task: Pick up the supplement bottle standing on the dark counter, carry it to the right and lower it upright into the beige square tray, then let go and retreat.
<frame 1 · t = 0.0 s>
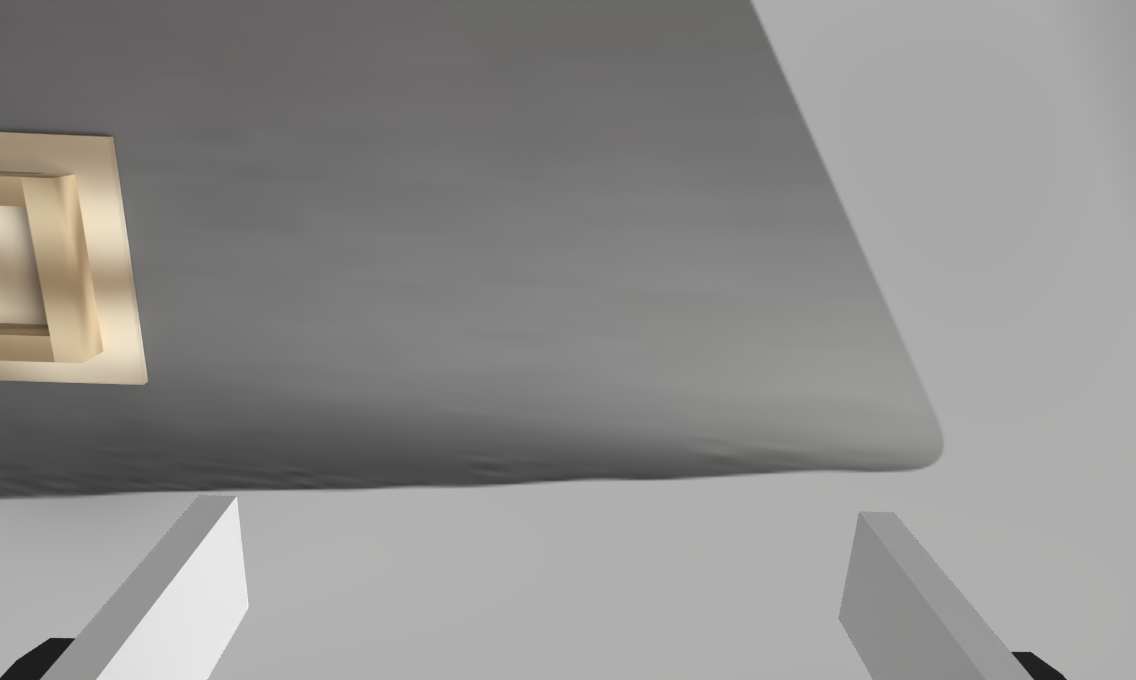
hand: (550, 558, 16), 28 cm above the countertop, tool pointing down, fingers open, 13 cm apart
beige square tray: (3, 260, 41), on the countertop
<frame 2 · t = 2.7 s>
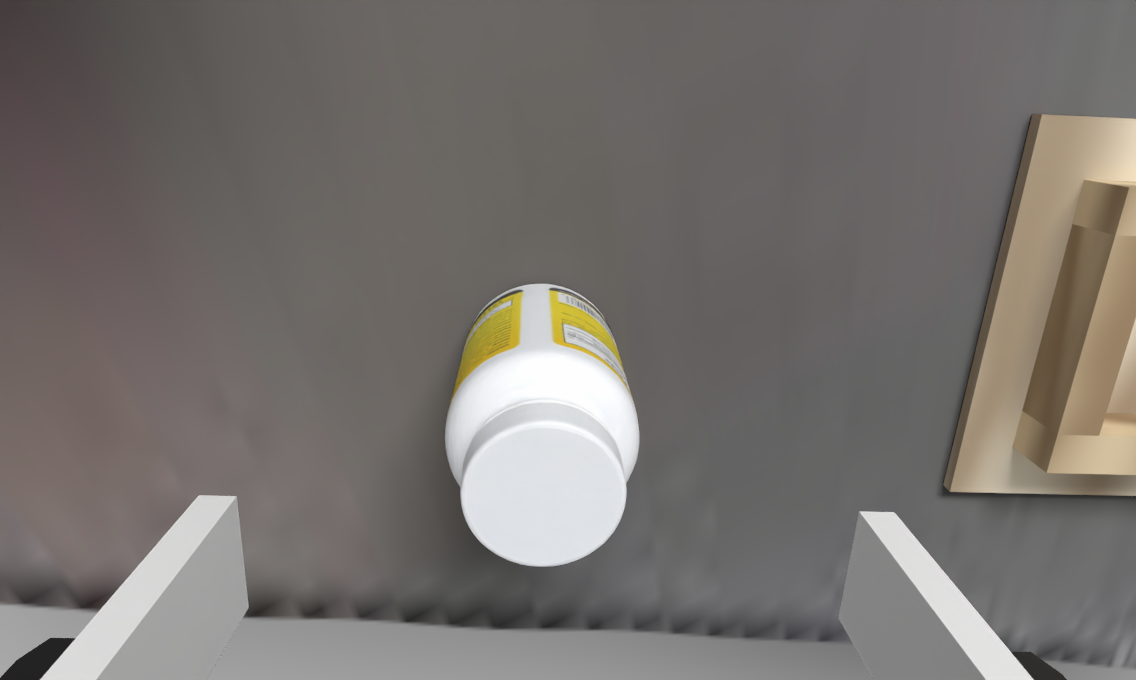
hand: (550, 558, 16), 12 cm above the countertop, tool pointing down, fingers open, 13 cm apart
supplement bottle: (541, 351, 27), on the countertop
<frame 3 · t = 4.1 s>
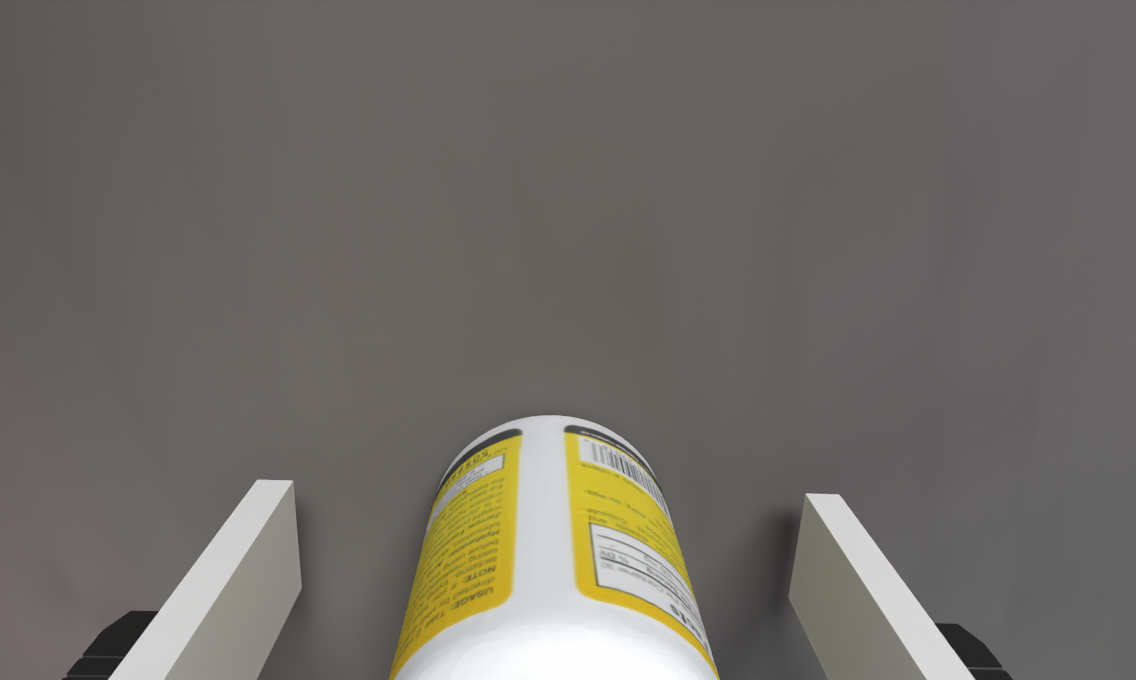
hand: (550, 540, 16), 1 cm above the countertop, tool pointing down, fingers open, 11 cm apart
supplement bottle: (550, 509, 18), on the countertop
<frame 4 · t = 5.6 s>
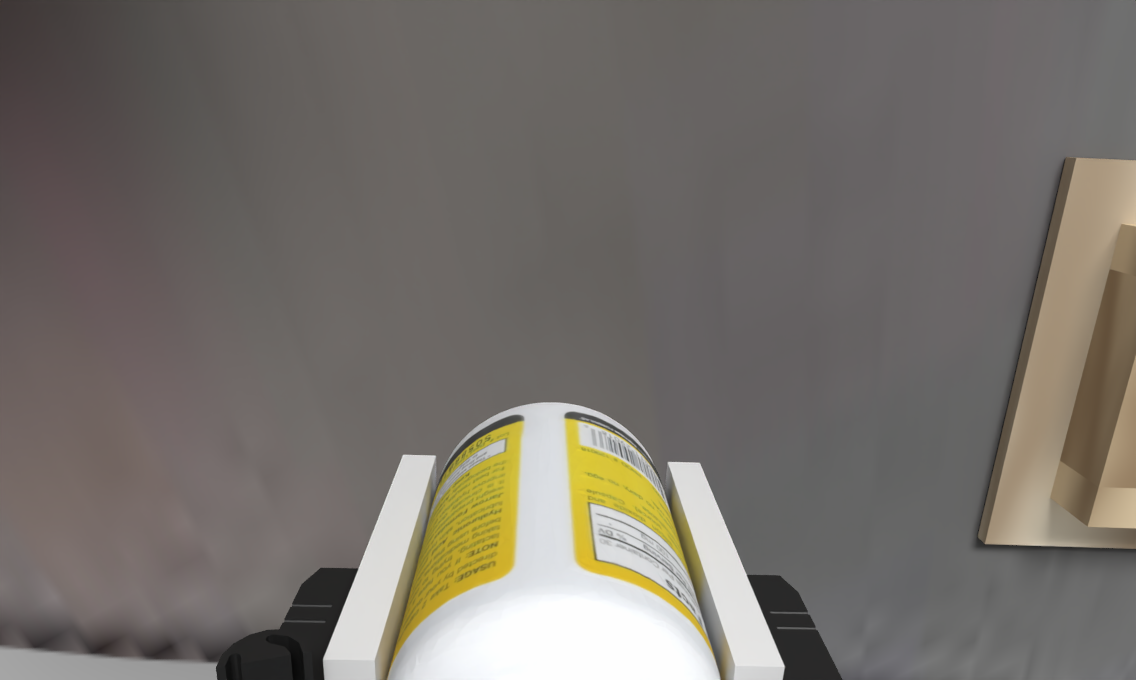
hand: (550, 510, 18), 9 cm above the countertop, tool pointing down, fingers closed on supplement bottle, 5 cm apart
supplement bottle: (550, 495, 18), point 8 cm above the countertop, touching gripper
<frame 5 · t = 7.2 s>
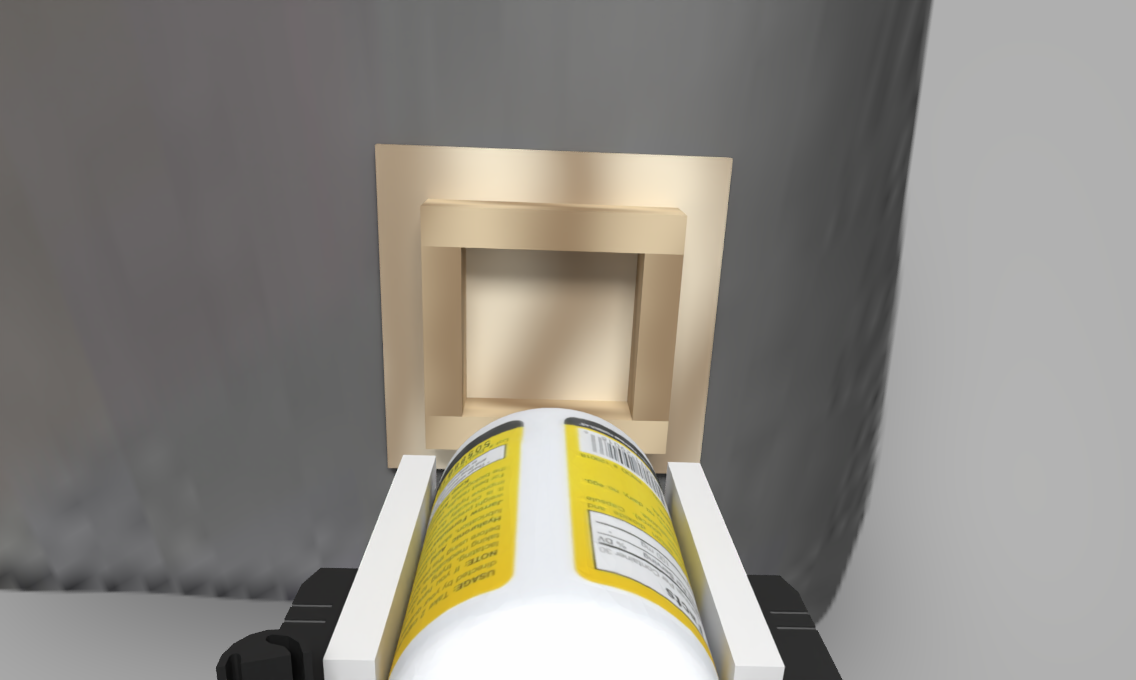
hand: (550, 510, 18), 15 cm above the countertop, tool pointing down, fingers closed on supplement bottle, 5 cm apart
supplement bottle: (550, 500, 18), point 14 cm above the countertop, touching gripper
beige square tray: (549, 319, 32), on the countertop
when the fingers open (3 cm above the countertop, at t = 9.5 s): supplement bottle drops 2 cm, resting on beige square tray.
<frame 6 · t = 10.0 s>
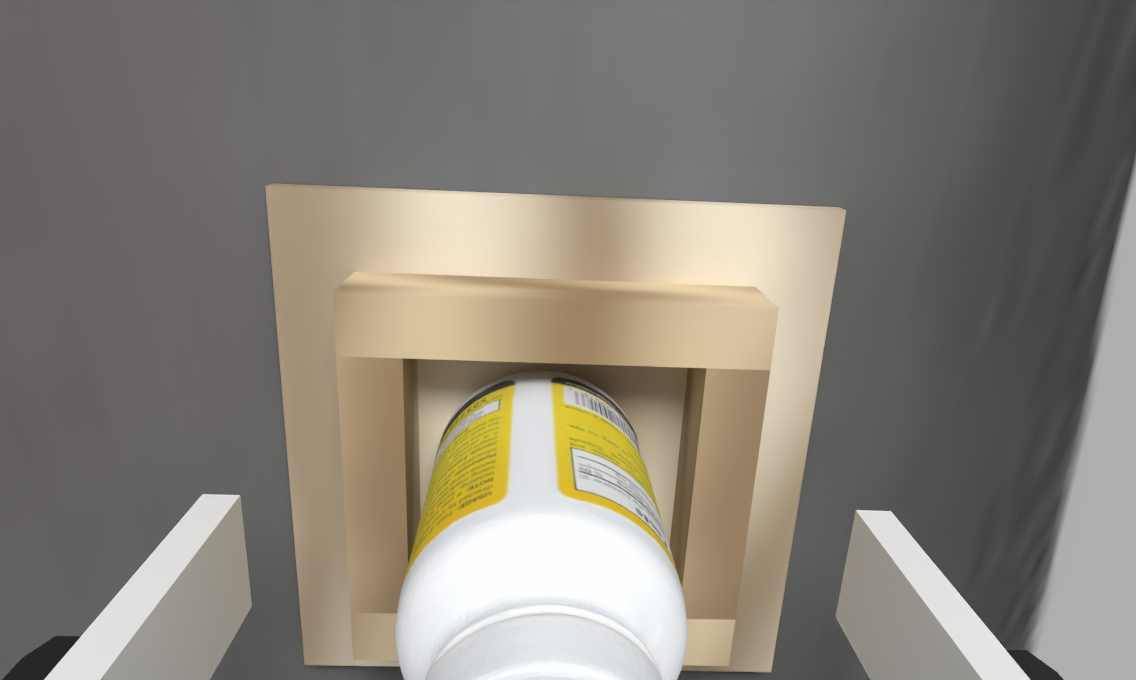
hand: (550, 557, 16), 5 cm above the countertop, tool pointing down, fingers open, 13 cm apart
supplement bottle: (540, 455, 20), resting on beige square tray
beige square tray: (549, 450, 21), on the countertop
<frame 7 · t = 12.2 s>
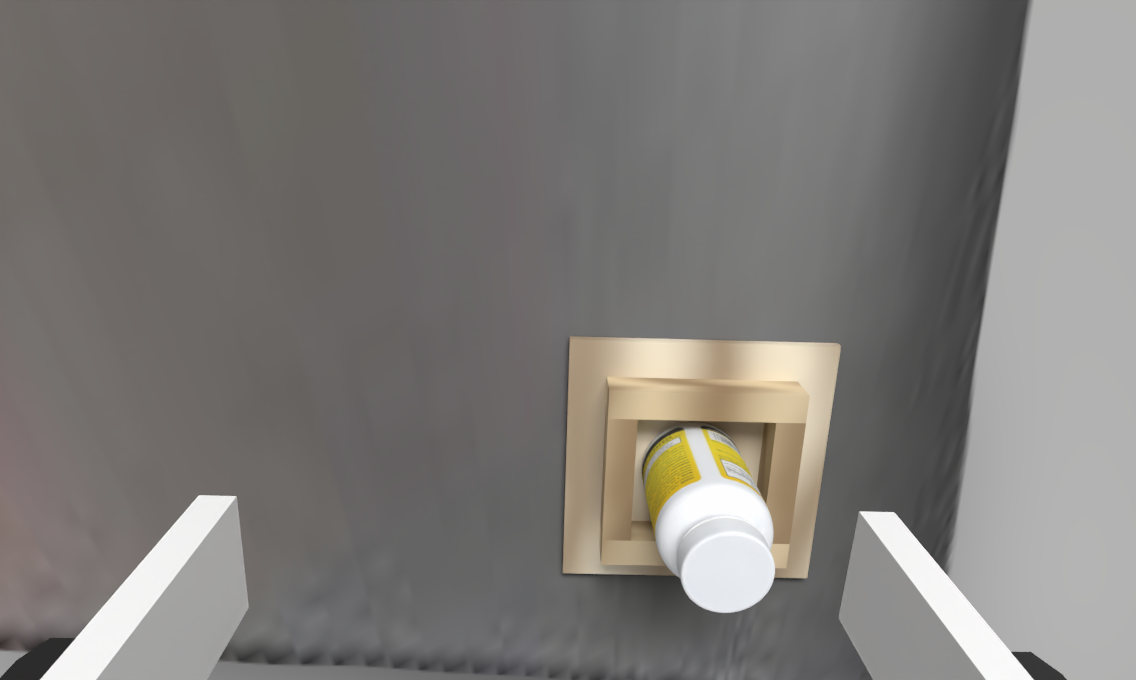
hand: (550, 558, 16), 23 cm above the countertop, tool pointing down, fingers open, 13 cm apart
supplement bottle: (689, 463, 40), resting on beige square tray
beige square tray: (693, 461, 41), on the countertop
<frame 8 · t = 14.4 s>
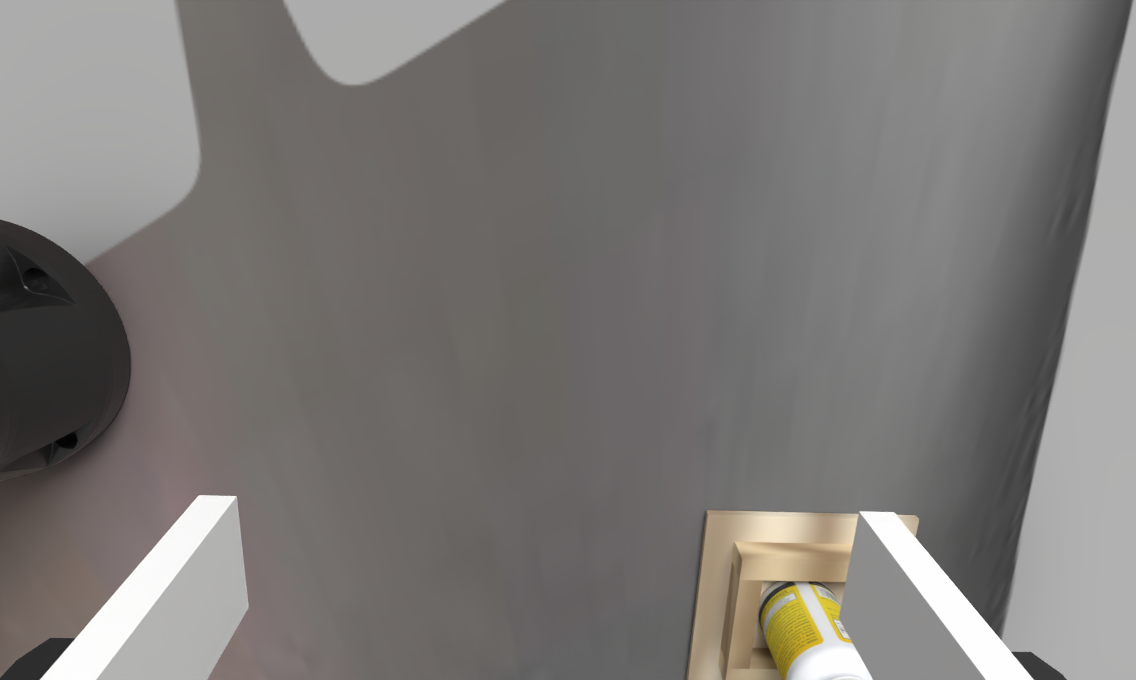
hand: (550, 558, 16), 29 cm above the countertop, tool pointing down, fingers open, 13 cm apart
supplement bottle: (794, 604, 51), resting on beige square tray
beige square tray: (796, 601, 51), on the countertop
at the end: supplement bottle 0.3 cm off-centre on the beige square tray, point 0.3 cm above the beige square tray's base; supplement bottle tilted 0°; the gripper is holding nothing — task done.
